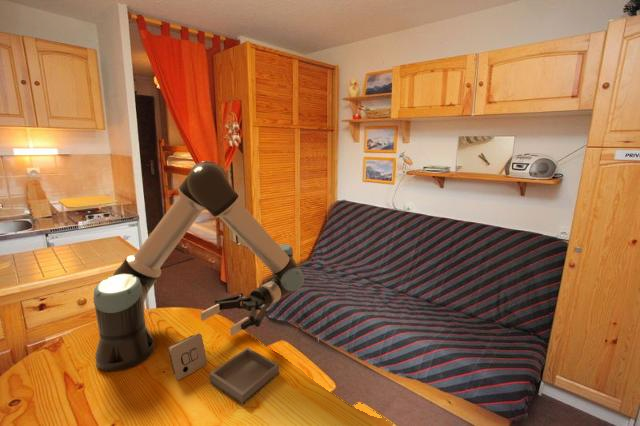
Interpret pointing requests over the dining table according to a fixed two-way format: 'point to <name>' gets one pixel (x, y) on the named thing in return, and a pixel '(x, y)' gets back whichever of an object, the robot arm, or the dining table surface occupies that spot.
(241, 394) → the box
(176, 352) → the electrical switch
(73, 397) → the dining table surface
